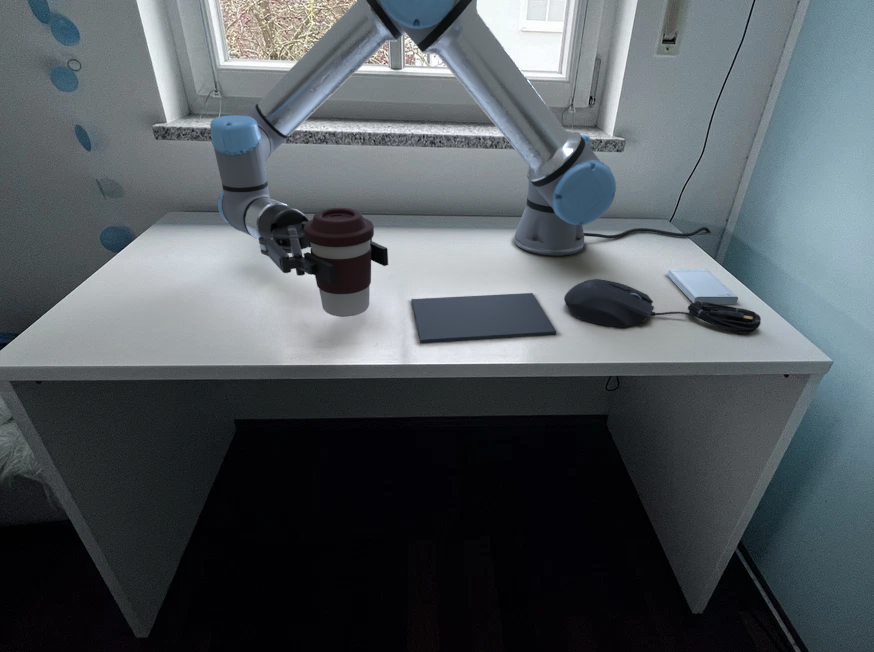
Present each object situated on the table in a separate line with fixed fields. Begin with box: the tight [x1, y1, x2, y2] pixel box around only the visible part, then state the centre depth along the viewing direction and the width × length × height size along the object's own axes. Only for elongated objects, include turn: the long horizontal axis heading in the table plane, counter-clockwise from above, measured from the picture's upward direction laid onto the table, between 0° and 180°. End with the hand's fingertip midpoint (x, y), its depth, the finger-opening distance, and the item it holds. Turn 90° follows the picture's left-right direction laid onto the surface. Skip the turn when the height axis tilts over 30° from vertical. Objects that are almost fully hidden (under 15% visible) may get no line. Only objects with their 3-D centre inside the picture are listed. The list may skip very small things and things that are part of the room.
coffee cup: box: [304, 207, 375, 318], centre depth 83 cm, size 10×10×15 cm
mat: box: [411, 292, 557, 344], centre depth 92 cm, size 22×14×1 cm, turn 100°
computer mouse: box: [563, 278, 762, 334], centre depth 92 cm, size 10×32×6 cm, turn 83°
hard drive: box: [667, 268, 739, 305], centre depth 104 cm, size 2×8×12 cm
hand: (360, 265), depth 79 cm, fingers closed on coffee cup, 9 cm apart
